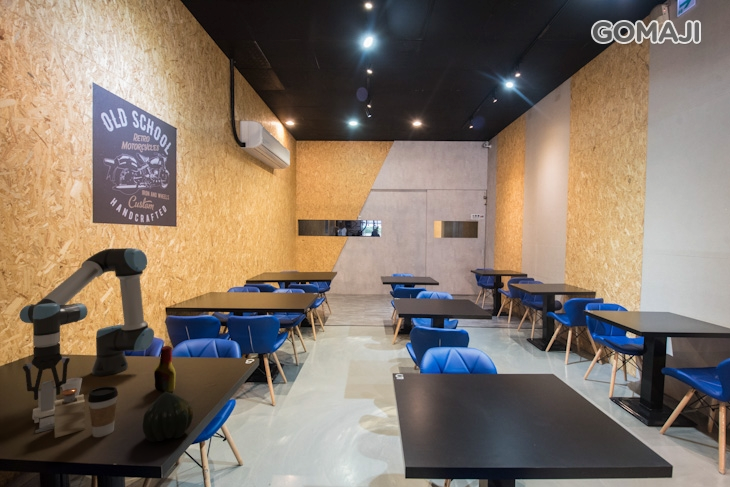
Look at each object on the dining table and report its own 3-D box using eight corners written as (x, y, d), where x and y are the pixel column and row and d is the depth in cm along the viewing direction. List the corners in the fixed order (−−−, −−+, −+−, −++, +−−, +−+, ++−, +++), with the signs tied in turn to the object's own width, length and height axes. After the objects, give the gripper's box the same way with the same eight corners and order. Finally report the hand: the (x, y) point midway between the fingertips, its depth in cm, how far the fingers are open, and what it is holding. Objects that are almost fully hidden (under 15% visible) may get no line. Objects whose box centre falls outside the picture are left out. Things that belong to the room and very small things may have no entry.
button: (76, 405, 126) (76, 387, 126) (77, 409, 123) (77, 390, 123) (62, 409, 123) (62, 390, 123) (62, 413, 120) (62, 394, 120)
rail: (57, 408, 138) (57, 405, 138) (58, 427, 124) (58, 423, 124) (37, 414, 134) (37, 410, 134) (35, 433, 120) (35, 429, 120)
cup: (84, 398, 147) (84, 379, 147) (53, 407, 140) (53, 387, 140) (80, 394, 152) (80, 376, 152) (50, 402, 144) (49, 383, 144)
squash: (176, 434, 109) (188, 386, 119) (127, 438, 108) (143, 389, 118) (192, 444, 119) (201, 399, 129) (147, 448, 118) (160, 403, 128)
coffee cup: (98, 426, 124) (98, 385, 124) (123, 425, 125) (123, 384, 125) (81, 440, 116) (81, 395, 116) (108, 438, 116) (108, 394, 116)
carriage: (61, 409, 137) (61, 377, 137) (61, 416, 131) (61, 382, 131) (33, 416, 131) (33, 382, 131) (32, 423, 126) (32, 388, 126)
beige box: (83, 420, 128) (83, 394, 128) (84, 429, 122) (84, 401, 123) (54, 428, 123) (54, 400, 123) (54, 437, 117) (54, 408, 117)
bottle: (179, 390, 155) (179, 346, 155) (165, 395, 149) (165, 350, 149) (165, 385, 161) (165, 342, 161) (151, 390, 156) (150, 346, 156)
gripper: (74, 338, 140) (75, 395, 140) (16, 346, 129) (17, 409, 129) (75, 342, 134) (76, 401, 134) (15, 351, 123) (15, 416, 123)
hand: (47, 405), depth 131 cm, fingers closed on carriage, 3 cm apart
